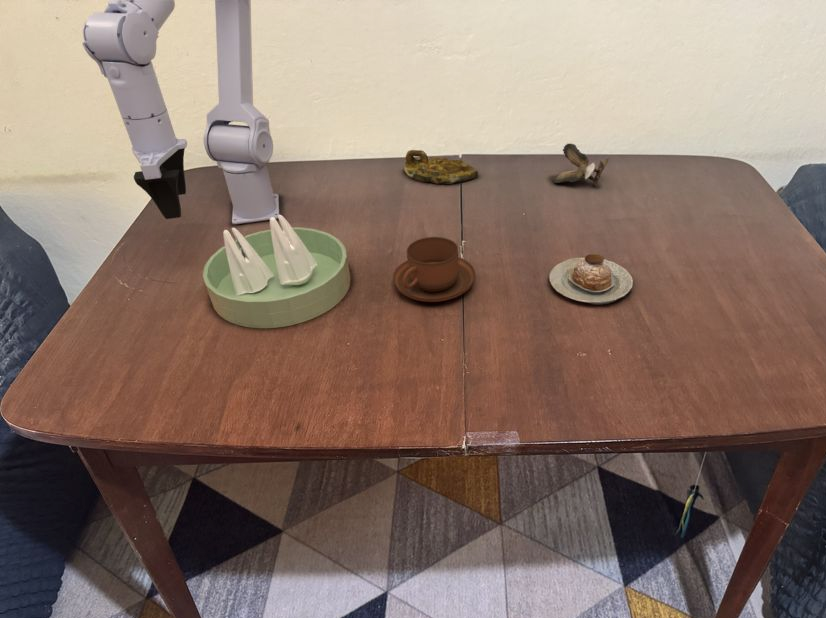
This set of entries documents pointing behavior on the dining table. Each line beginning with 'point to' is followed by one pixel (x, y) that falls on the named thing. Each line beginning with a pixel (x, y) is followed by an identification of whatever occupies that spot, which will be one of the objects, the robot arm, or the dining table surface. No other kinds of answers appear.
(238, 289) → the shaker set
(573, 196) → the dining table surface
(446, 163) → the seal
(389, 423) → the dining table surface
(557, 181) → the eagle figurine
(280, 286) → the bowl
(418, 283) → the cup and saucer
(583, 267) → the pastry
